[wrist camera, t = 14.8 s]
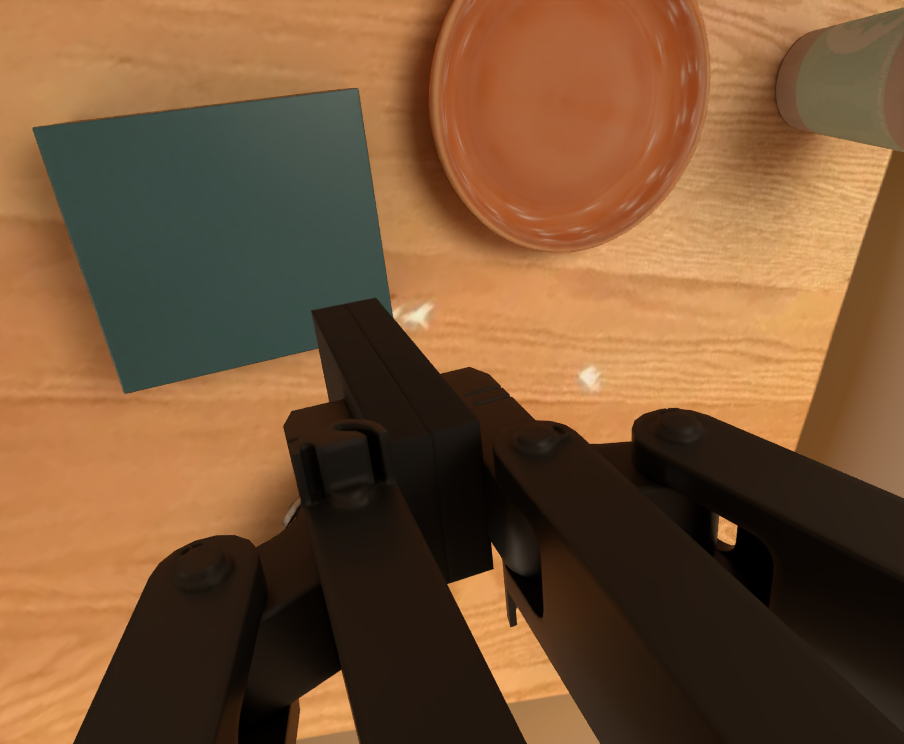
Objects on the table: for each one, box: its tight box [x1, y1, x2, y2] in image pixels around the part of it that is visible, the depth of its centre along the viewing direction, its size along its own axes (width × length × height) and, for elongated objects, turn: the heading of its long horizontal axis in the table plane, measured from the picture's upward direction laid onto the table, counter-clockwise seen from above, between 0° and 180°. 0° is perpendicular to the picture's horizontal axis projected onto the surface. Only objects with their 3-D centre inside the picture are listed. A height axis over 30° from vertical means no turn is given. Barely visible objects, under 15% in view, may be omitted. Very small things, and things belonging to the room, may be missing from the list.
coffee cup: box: [776, 8, 904, 152], centre depth 37 cm, size 8×8×12 cm
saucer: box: [429, 0, 710, 252], centre depth 36 cm, size 16×16×3 cm
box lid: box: [33, 88, 393, 394], centre depth 30 cm, size 13×12×1 cm
